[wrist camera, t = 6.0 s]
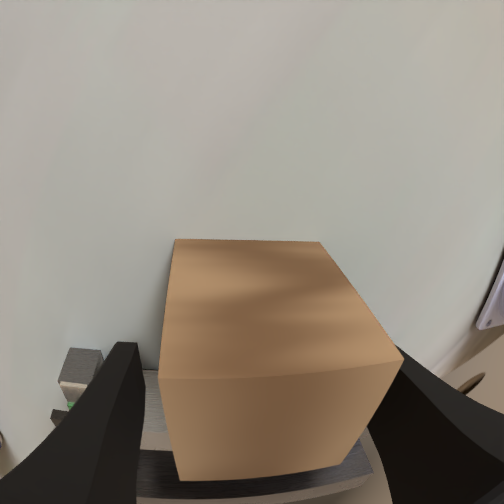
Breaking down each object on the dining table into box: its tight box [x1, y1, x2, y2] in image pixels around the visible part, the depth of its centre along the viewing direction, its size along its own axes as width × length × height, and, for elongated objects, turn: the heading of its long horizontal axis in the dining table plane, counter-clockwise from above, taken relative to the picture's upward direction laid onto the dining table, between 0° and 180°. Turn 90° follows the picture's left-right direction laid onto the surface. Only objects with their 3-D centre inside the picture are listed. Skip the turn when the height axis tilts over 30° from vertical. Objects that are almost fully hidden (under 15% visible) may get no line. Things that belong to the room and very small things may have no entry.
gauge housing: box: [58, 348, 374, 504], centre depth 13 cm, size 15×8×4 cm, turn 85°
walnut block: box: [158, 239, 404, 481], centre depth 9 cm, size 5×5×6 cm
